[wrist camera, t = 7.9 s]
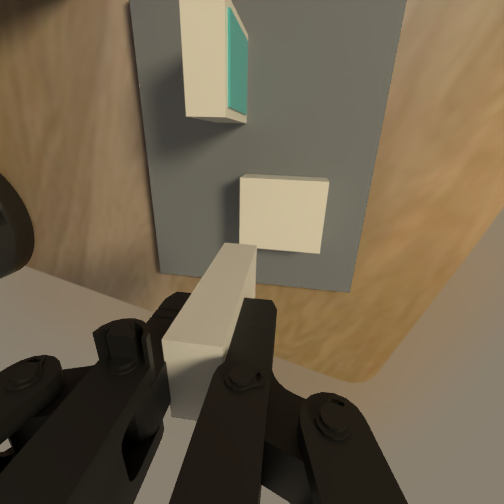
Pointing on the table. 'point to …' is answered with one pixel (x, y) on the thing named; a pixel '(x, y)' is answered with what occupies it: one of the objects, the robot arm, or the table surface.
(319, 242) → the tile
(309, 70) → the slate board
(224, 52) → the tile
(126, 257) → the table surface
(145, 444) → the robot arm
